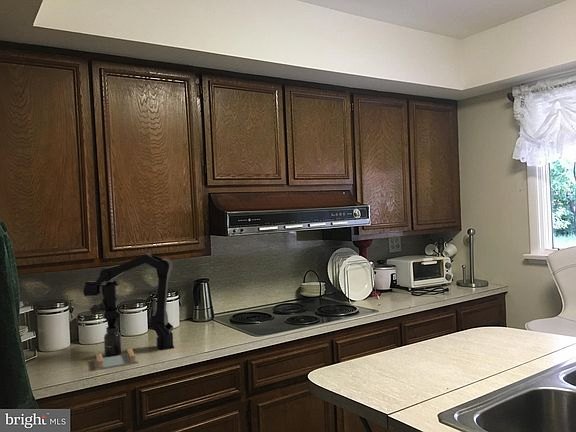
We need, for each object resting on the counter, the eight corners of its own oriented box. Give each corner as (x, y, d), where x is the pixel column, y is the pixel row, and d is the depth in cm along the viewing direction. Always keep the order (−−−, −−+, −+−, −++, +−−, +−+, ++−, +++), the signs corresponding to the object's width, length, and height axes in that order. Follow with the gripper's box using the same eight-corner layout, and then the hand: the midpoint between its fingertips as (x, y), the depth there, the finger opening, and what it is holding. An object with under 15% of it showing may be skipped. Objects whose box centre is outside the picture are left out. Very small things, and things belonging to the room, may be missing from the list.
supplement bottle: (103, 358, 198) (102, 329, 198) (105, 353, 205) (104, 326, 204) (121, 356, 200) (120, 328, 200) (122, 351, 207) (121, 324, 206)
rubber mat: (133, 354, 202) (133, 353, 202) (138, 363, 190) (138, 361, 190) (93, 360, 195) (93, 359, 195) (95, 370, 183) (95, 368, 183)
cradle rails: (131, 353, 201) (131, 347, 201) (135, 362, 189) (135, 355, 189) (96, 358, 195) (95, 353, 195) (98, 368, 183) (97, 361, 183)
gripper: (88, 294, 215) (90, 328, 215) (90, 301, 198) (92, 338, 198) (114, 291, 220) (116, 325, 220) (118, 298, 203) (120, 334, 203)
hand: (110, 330), depth 210 cm, fingers closed
